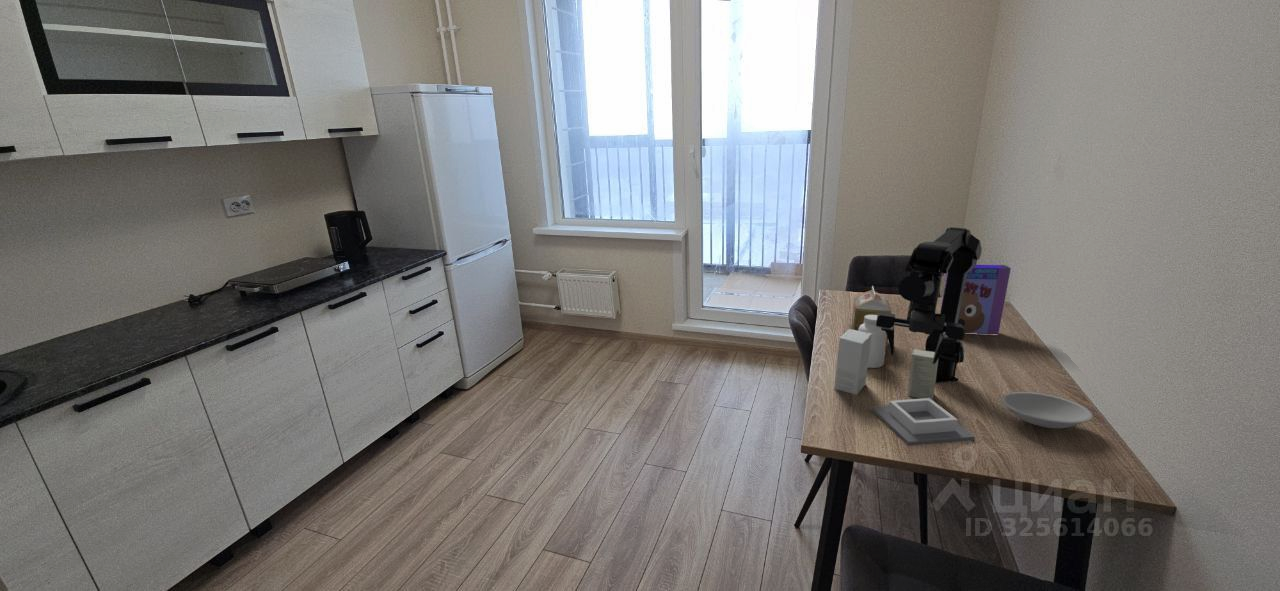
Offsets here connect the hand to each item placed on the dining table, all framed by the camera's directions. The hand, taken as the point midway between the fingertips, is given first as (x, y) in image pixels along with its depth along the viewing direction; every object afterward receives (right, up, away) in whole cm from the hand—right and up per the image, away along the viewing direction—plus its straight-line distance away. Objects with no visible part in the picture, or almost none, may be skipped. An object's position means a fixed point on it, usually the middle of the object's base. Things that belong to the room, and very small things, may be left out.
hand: (912, 359), depth 128 cm
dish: (+29, -16, -2) cm, 33 cm away
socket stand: (+1, -16, -1) cm, 16 cm away
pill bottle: (+4, -5, +33) cm, 33 cm away
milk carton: (+9, -1, +47) cm, 48 cm away
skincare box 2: (+9, -11, +13) cm, 19 cm away
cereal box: (+48, +3, +55) cm, 73 cm away
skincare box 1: (-8, -10, +18) cm, 22 cm away
